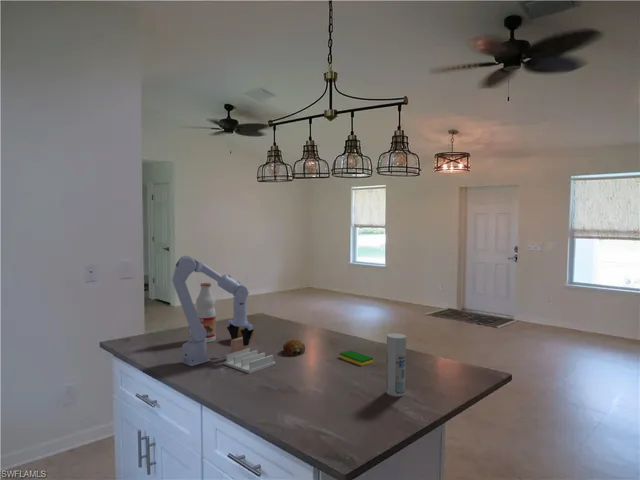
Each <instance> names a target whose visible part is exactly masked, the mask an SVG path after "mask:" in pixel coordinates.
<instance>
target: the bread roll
mask: <svg viewBox="0 0 640 480" xmlns="http://www.w3.org/2000/svg"><path fill="white" fill-rule="evenodd" d="M282 346H283V347H282V348H283V354H284V355H287V356H299V355H303V354H304V353H305V351H306V346H305V343H304V341H302V340H300V339H298V338H288V339H287V340H286V341H285V343H283V345H282Z"/></svg>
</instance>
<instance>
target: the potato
mask: <svg viewBox="0 0 640 480" xmlns="http://www.w3.org/2000/svg"><path fill="white" fill-rule="evenodd" d="M243 329H245V328H241V327H239V330H238V338H240V337H243V336H242V333H241V330H243ZM254 334H255V332H254V331H253V333H252V335H251V337H250V340H252V338H253V337H254Z"/></svg>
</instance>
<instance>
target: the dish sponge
mask: <svg viewBox="0 0 640 480" xmlns="http://www.w3.org/2000/svg"><path fill="white" fill-rule="evenodd" d="M339 358H340V359H342V360H345V361H347V362H349V363H353V364H355V365H358V366H361V367H363V366H366V365H370V364H373V363H374V357H372V356H368V355H366V354H363V353H360V352H357V351H354V350H352V349H351V350H346V351H343V352H339Z"/></svg>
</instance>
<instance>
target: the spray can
mask: <svg viewBox="0 0 640 480" xmlns="http://www.w3.org/2000/svg"><path fill="white" fill-rule="evenodd" d="M406 352H407V336H406V335H405V334H402V333H396V332H395V333H388V334H387V335H386V377H385V379H386V387H385V390H386V394H387V395H388V396H390V397H396V398H397V397H403V396H405V388H406V358H407V357H406V355H407V353H406Z"/></svg>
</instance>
